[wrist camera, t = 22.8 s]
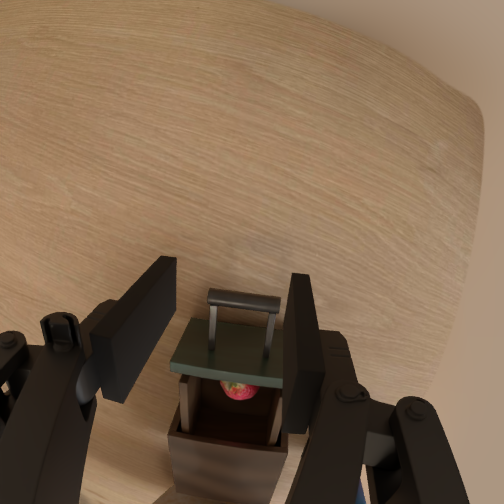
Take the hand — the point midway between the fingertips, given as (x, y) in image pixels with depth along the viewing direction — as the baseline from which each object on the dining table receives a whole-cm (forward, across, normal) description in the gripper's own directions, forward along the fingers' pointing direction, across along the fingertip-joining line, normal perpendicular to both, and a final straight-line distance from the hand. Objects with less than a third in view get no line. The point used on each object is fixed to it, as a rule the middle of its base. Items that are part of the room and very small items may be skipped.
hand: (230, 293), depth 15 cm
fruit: (+15, 0, -17) cm, 23 cm away
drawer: (+16, 0, -15) cm, 22 cm away
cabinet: (+17, 0, -29) cm, 34 cm away
